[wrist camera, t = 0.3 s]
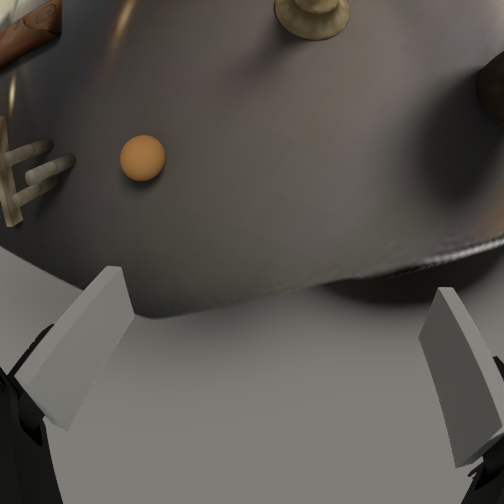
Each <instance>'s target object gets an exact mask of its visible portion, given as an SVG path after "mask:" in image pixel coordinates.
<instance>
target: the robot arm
mask: <svg viewBox="0 0 504 504" xmlns="http://www.w3.org/2000/svg"><path fill="white" fill-rule="evenodd" d="M134 318H135V316H134V312H133V309H132V305H131V302H130V298H129V295H128V291H127V288H126V284H125V280H124V276H123V272H122V268H121V267H114V266H106V267H105V268H104V270H103V271H102V272H101V273H100V274H99V275H98V276H97V277H96V278H95V279H94V280H93V281H92V282H91V283H90V285H89V286H88V287H87V288H86V289H85V290H84V291H83V292H82V294H80V296H79V297H78V298H77V299H76V300H75V301H74V302H73V303H72V305H71V306H70V307H69V308H68V309H67V311H66V312H65V313H64V314H63V315H62V317H60V319H59V320H58V321H57V322H56V323H55V324H51V325H50V326H48V327H47V328H46V329H44V330H43V331H42V332H41V333H40V334H39V335H38V337H37V338H36V339H35V342H33V343H32V344H31V345H30V347H29V349H27V350H26V352H25V353H24V354H23V355H22V357H21V358H20V359H19V360H18V362H17V363H16V364H15V366H14V367H13V368H12V370H11V371H10V372H9V374H8V375H6V374H5V373H4V371H3V370H2V368H1V367H0V504H63V501H62V498H61V494H60V491H59V487H58V484H57V480H56V476H55V473H54V468H53V464H52V459H51V454H50V449H49V444H48V439H47V433H46V427H45V424H44V421H43V420H42V419H43V417H44V416H46V417H47V418H48V419H49V420H50V421H51V422H52V424H54V425H56V426H58V427H60V428H63V429H64V430H68V429H69V427H70V425H71V423H72V422H73V419H74V418H75V416H76V414H77V412H78V411H79V409H80V407H81V405H82V404H83V402H84V400H85V398H86V396H87V395H88V393H89V391H90V389H91V388H92V386H93V384H94V383H95V381H96V379H97V377H98V376H99V374H100V372H101V371H102V369H103V367H104V366H105V364H106V362H107V361H108V359H109V358H110V356H111V354H112V353H113V351H114V349H115V348H116V346H117V345H118V343H119V341H120V340H121V338H122V336H123V335H124V333H125V332H126V330H127V329H128V327H129V325H130V324H131V322H132V321H133V319H134ZM419 340H420V343H421V346H422V349H423V351H424V354H425V357H426V360H427V363H428V366H429V369H430V372H431V375H432V378H433V381H434V384H435V387H436V391H437V394H438V397H439V401H440V404H441V408H442V411H443V415H444V419H445V423H446V427H447V431H448V435H449V439H450V443H451V447H452V452H453V456H454V462H455V467H456V468H458V467H462V466H465V465H469V464H472V463H474V462H475V461H476V460H477V459H479V458H480V457H481V456H483V460H484V461H483V462H482V463H481V464H480V465H478V466H477V467H476V468H474V469H473V470H472V471H471V472H470V473H469V474H468V476H469V477H470V476H471V475H473V474H474V473H475V472H477V473H476V475H475V476H474V477H473V481H472V483H471V485H470V487H469V489H468V491H467V493H466V495H465V497H464V499H463V501H462V503H461V504H504V364H503V362H502V361H501V360H500V359H499V358H498V357H497V356H496V357H492V356H491V354H490V352H489V350H488V348H487V346H486V344H485V342H484V340H483V338H482V336H481V334H480V333H479V331H478V329H477V327H476V326H475V324H474V322H473V320H472V318H471V317H470V315H469V313H468V312H467V310H466V308H465V307H464V305H463V303H462V302H461V300H460V299H459V297H458V295H457V294H456V292H455V290H454V289H453V288H443V287H438V289H437V292H436V295H435V298H434V300H433V303H432V306H431V308H430V311H429V313H428V316H427V318H426V321H425V323H424V326H423V328H422V330H421V333H420V335H419Z"/></svg>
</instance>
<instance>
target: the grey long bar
mask: <svg viewBox="0 0 504 504" xmlns="http://www.w3.org/2000/svg"><path fill="white" fill-rule="evenodd" d="M7 152H9V144H8V135H7V125H6V115H4V116H0V201H1V205H2V209H3V213H4V217H5V221H6V224H7V227H13V226H15V225H16V224H18V223H19V222H21V221H22V220H23V218H22V214H21V210H20V207H19V208H15V207H14V206H13V204H12V201H11V198H12V195H14V194H16V193H17V192H16V187H15V182H14V177H13V171H12V166H10V167H7V166H6V165H5V163H4V154H5V153H7Z"/></svg>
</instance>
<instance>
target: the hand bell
mask: <svg viewBox="0 0 504 504" xmlns="http://www.w3.org/2000/svg"><path fill="white" fill-rule="evenodd" d="M275 13H276V16H277V18H278V20H279V22H280V23H281V24H282V26H283V27H284V28H286V29H287V30H288V31H289V32H291V33H293V34H294V35H296V36H299V37H301V38H304V39H310V40H323V39H328V38H331V37H333V36H335V35H337V34H338V33H340V32H341V31H342V30H343V29H344V28H345V26H346V25H347V23H348V20H349V14H350V11H349V6H348V3H347V1H346V0H275Z"/></svg>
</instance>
